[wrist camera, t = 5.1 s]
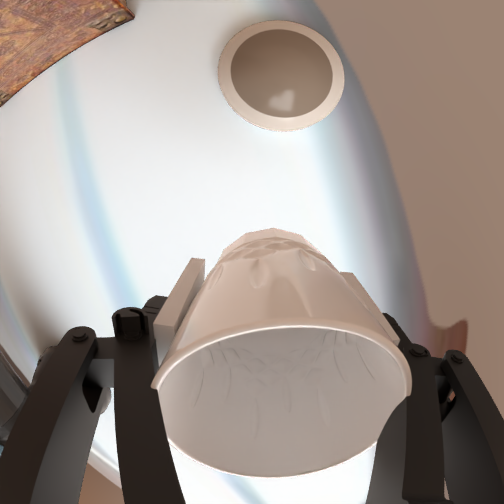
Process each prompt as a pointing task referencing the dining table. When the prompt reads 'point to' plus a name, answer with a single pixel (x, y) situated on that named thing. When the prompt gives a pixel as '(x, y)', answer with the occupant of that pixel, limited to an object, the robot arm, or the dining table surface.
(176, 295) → the robot arm
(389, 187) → the dining table surface
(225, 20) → the dining table surface
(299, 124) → the beige saucer
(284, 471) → the white cup
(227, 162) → the dining table surface
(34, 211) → the dining table surface
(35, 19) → the book
